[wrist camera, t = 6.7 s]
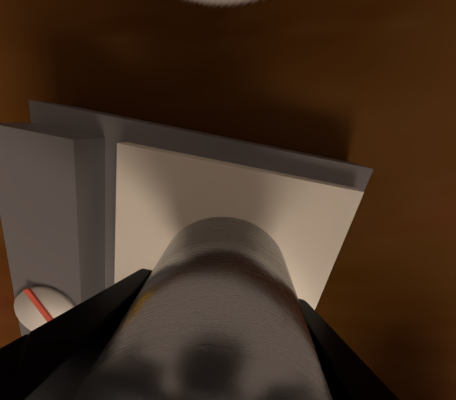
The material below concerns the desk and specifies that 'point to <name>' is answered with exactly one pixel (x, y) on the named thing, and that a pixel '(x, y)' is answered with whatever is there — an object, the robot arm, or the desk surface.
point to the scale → (153, 202)
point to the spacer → (212, 325)
